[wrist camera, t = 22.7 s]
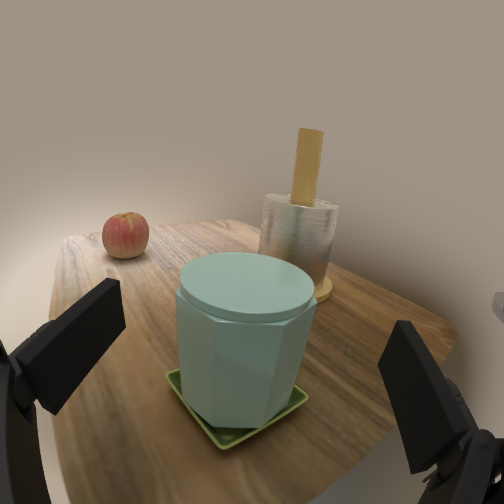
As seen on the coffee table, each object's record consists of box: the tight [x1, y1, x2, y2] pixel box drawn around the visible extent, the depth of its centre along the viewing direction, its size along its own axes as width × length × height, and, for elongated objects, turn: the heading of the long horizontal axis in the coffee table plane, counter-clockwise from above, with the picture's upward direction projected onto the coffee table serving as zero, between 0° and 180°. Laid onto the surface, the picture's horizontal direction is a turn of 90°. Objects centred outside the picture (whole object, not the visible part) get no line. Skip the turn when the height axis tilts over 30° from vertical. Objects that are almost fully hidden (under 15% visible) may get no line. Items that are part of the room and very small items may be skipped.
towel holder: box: [258, 128, 339, 304], centre depth 39 cm, size 14×14×24 cm
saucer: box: [165, 368, 309, 450], centre depth 20 cm, size 9×9×2 cm
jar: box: [176, 252, 317, 428], centre depth 18 cm, size 8×8×10 cm
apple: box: [102, 212, 149, 259], centre depth 45 cm, size 9×9×8 cm
